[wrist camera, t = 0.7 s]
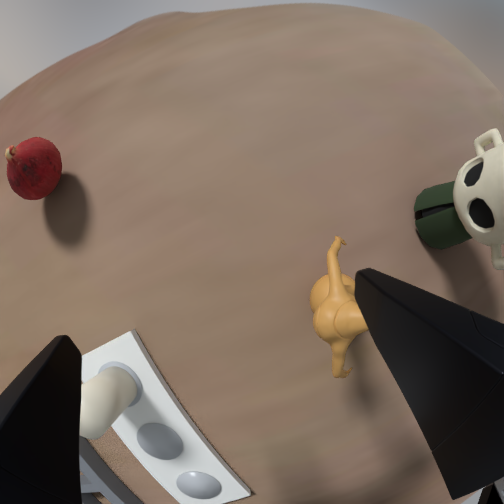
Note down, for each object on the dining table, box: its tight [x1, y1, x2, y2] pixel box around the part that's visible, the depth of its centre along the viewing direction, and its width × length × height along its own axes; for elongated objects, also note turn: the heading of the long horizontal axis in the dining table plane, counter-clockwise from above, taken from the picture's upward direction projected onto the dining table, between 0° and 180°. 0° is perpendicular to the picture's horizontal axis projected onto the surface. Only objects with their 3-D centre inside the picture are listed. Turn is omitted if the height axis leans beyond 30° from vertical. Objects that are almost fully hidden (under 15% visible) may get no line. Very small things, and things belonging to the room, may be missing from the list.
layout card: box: [80, 329, 251, 504], centre depth 17 cm, size 20×8×8 cm, turn 29°
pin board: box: [79, 436, 144, 504], centre depth 18 cm, size 20×9×2 cm, turn 29°
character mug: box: [414, 129, 504, 270], centre depth 17 cm, size 11×7×13 cm, turn 0°
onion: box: [5, 137, 62, 200], centre depth 18 cm, size 6×6×8 cm
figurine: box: [310, 236, 369, 378], centre depth 16 cm, size 8×6×12 cm
